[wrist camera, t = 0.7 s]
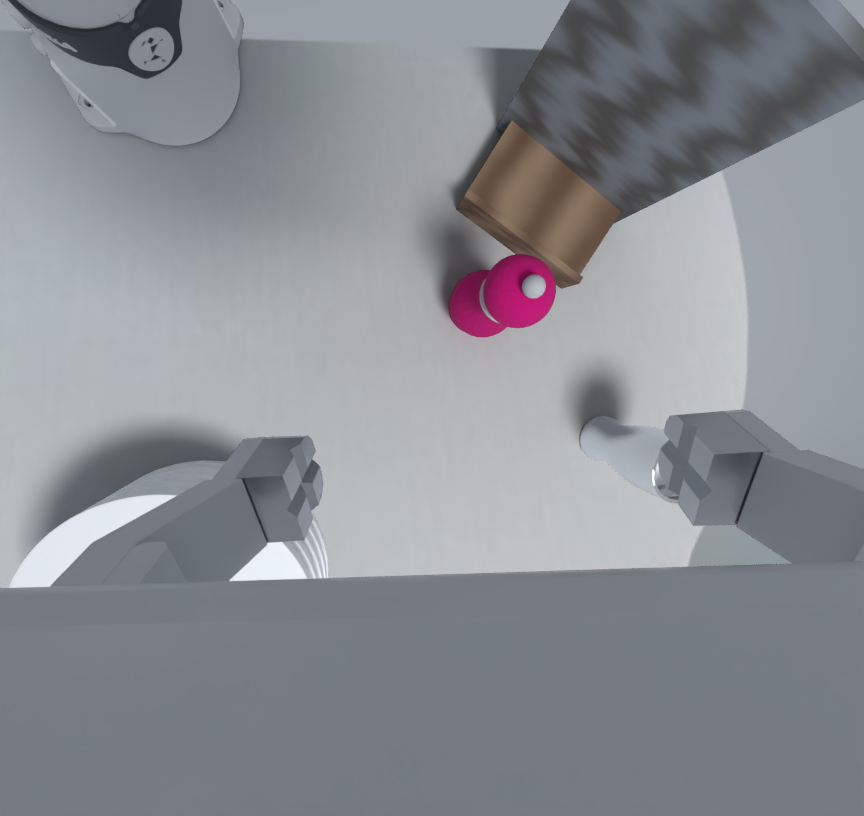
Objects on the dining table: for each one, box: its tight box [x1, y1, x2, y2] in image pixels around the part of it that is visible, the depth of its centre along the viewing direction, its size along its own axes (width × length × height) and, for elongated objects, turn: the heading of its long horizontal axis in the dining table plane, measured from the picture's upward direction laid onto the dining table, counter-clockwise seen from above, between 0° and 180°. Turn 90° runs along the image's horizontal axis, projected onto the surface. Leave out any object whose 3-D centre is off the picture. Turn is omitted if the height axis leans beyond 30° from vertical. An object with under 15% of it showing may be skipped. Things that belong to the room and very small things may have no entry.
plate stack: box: [8, 460, 329, 588], centre depth 46 cm, size 28×28×12 cm
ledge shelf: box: [456, 0, 864, 289], centre depth 36 cm, size 18×11×28 cm, turn 57°
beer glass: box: [580, 416, 679, 503], centre depth 48 cm, size 7×7×15 cm
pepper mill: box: [449, 254, 556, 337], centre depth 41 cm, size 7×7×20 cm
